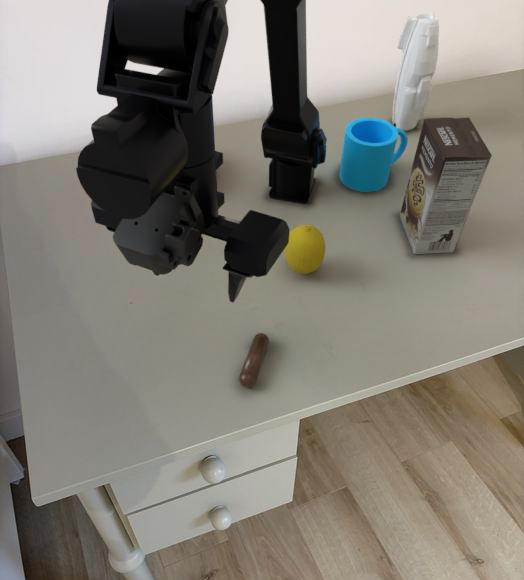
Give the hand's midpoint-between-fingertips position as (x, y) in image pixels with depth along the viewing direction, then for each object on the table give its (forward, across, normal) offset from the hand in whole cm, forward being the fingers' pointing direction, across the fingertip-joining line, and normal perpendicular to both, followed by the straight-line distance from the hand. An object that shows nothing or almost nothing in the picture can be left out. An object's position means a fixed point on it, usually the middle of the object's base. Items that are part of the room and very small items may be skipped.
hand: (195, 286), depth 57 cm
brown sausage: (+12, +6, +2) cm, 14 cm away
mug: (+10, +7, +46) cm, 48 cm away
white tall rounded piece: (+9, +7, +63) cm, 64 cm away
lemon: (+11, +6, +19) cm, 23 cm away
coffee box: (+11, +19, +35) cm, 41 cm away
